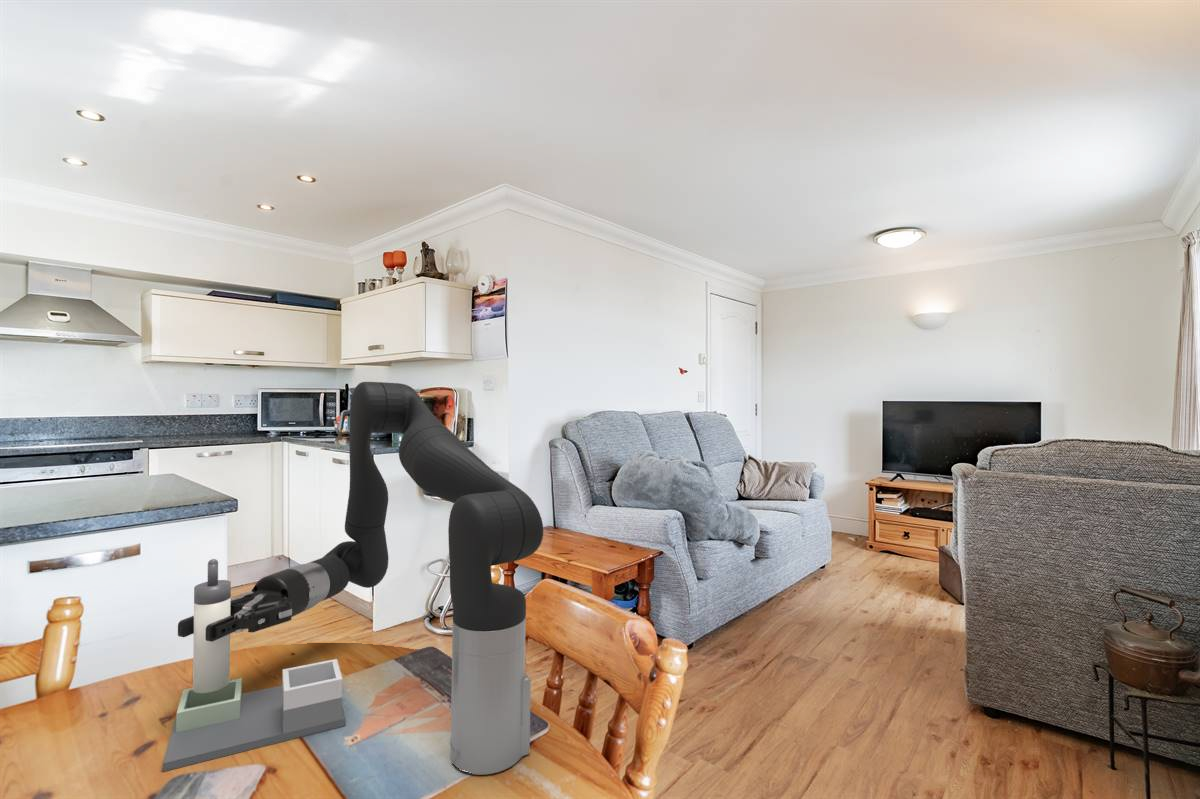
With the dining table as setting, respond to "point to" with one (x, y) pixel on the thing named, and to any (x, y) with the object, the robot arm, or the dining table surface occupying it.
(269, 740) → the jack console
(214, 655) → the plug
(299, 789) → the dining table surface
